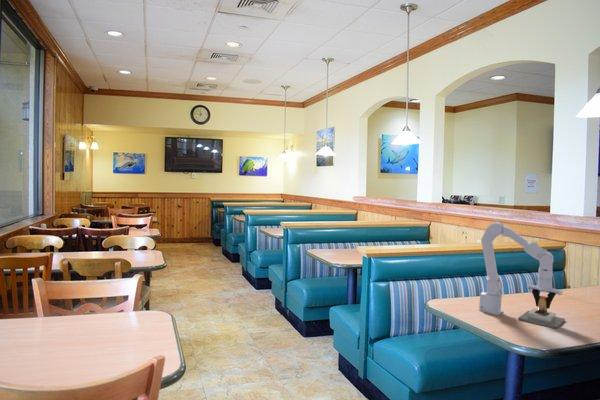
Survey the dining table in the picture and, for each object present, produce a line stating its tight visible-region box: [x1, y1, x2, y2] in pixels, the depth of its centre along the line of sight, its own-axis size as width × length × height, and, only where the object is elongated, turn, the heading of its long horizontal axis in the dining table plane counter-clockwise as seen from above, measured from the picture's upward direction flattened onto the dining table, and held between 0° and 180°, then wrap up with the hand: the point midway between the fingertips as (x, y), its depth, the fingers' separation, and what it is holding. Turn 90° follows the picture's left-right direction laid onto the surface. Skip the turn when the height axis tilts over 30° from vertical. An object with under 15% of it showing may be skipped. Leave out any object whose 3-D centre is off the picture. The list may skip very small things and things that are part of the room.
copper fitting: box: [536, 295, 548, 313], centre depth 212 cm, size 4×4×7 cm
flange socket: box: [517, 308, 566, 330], centre depth 213 cm, size 16×16×4 cm
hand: (542, 306), depth 213 cm, fingers closed on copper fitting, 4 cm apart
